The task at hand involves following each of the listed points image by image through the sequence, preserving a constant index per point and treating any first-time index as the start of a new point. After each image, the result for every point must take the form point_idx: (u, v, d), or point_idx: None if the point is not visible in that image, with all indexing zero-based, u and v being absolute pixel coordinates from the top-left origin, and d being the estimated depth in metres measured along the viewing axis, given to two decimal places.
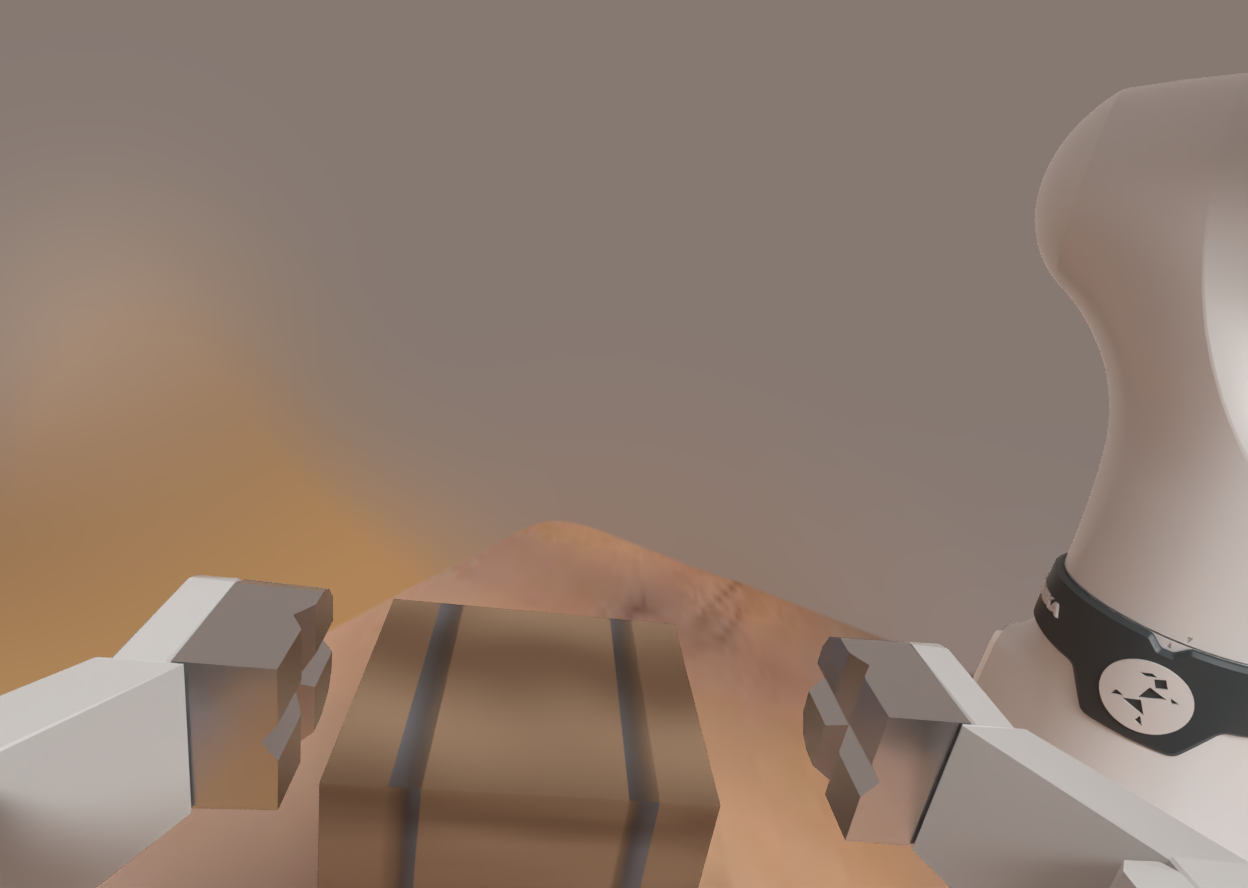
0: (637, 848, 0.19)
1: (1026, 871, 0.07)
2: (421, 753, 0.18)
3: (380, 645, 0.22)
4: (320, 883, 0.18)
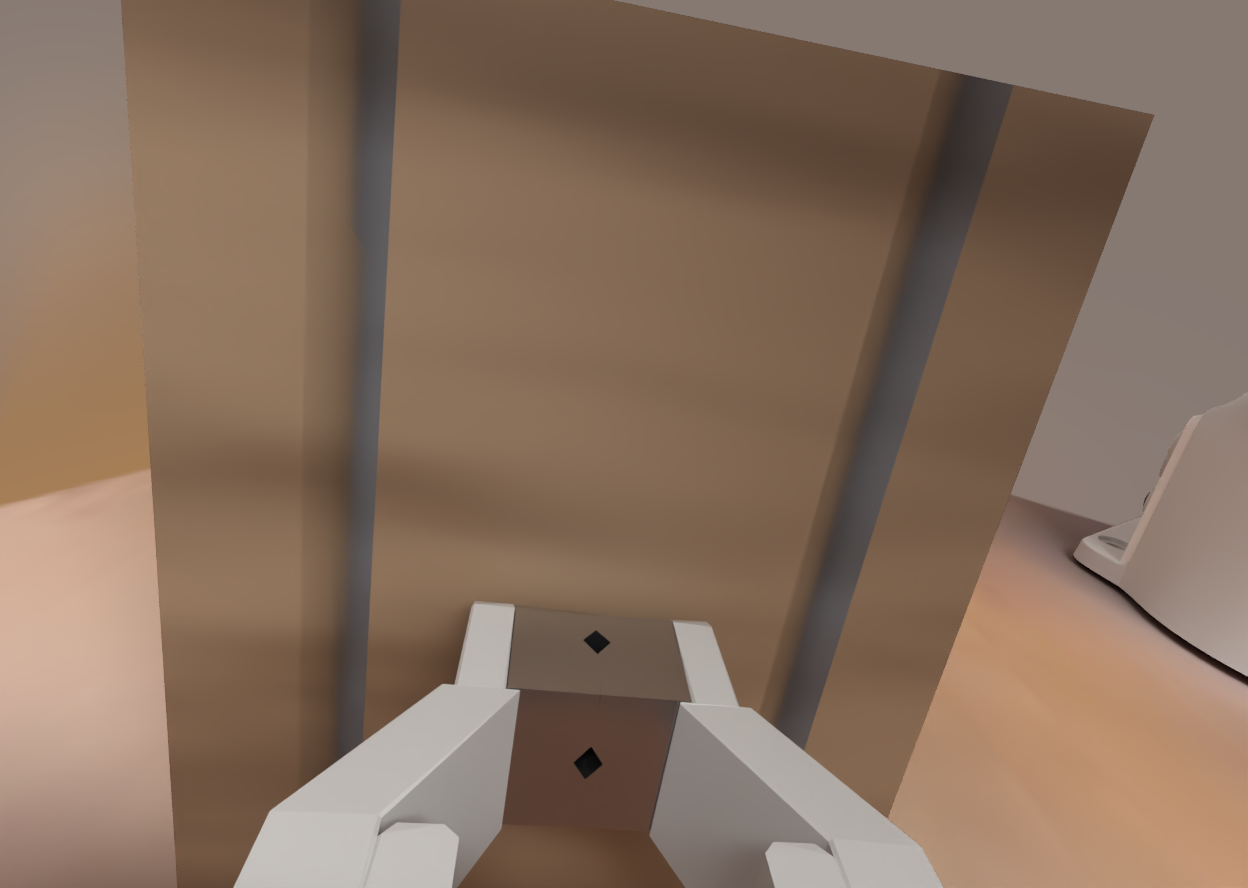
0: (934, 245, 0.08)
1: (728, 857, 0.07)
2: None
3: None
4: (148, 289, 0.07)
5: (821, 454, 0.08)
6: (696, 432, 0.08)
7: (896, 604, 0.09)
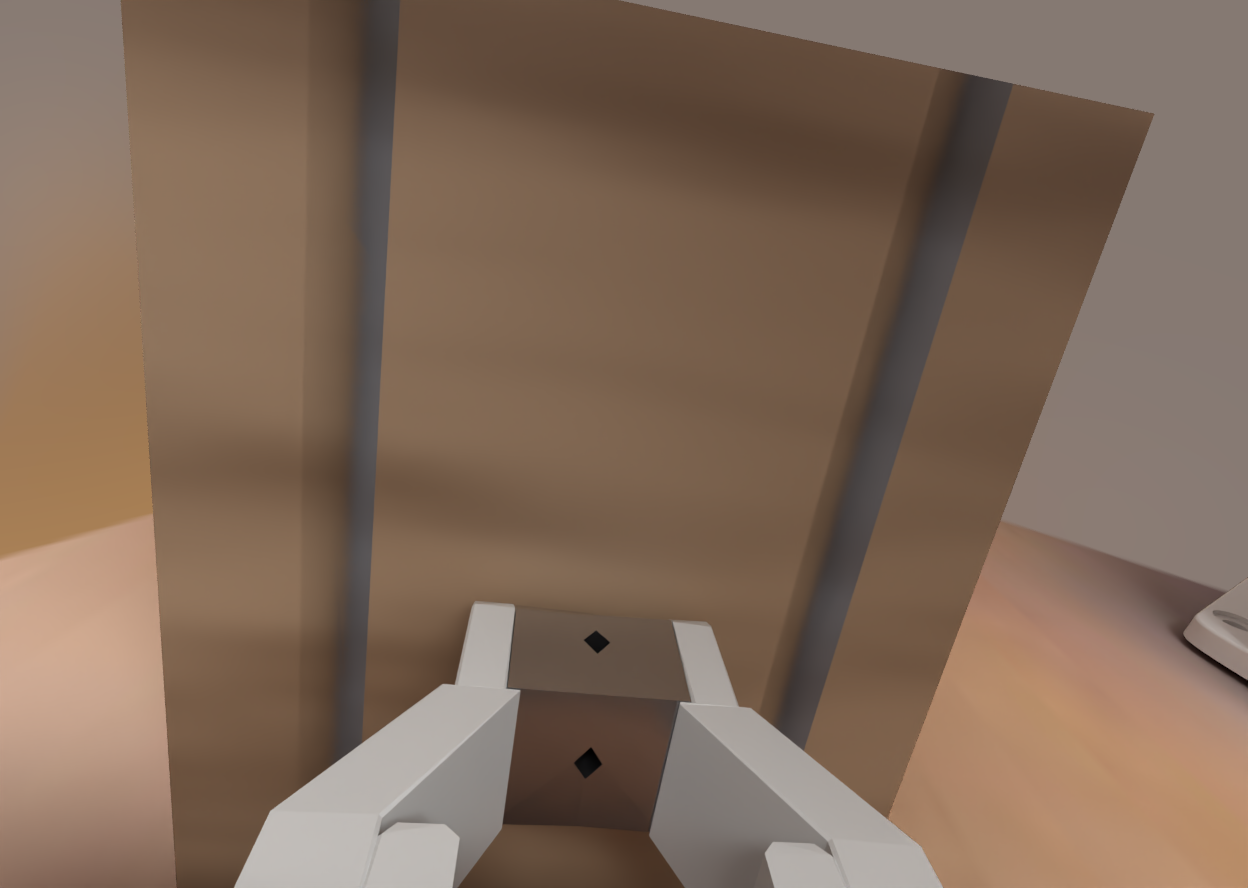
0: (934, 244, 0.08)
1: (728, 857, 0.07)
2: None
3: None
4: (147, 287, 0.07)
5: (820, 453, 0.08)
6: (695, 431, 0.08)
7: (896, 604, 0.09)
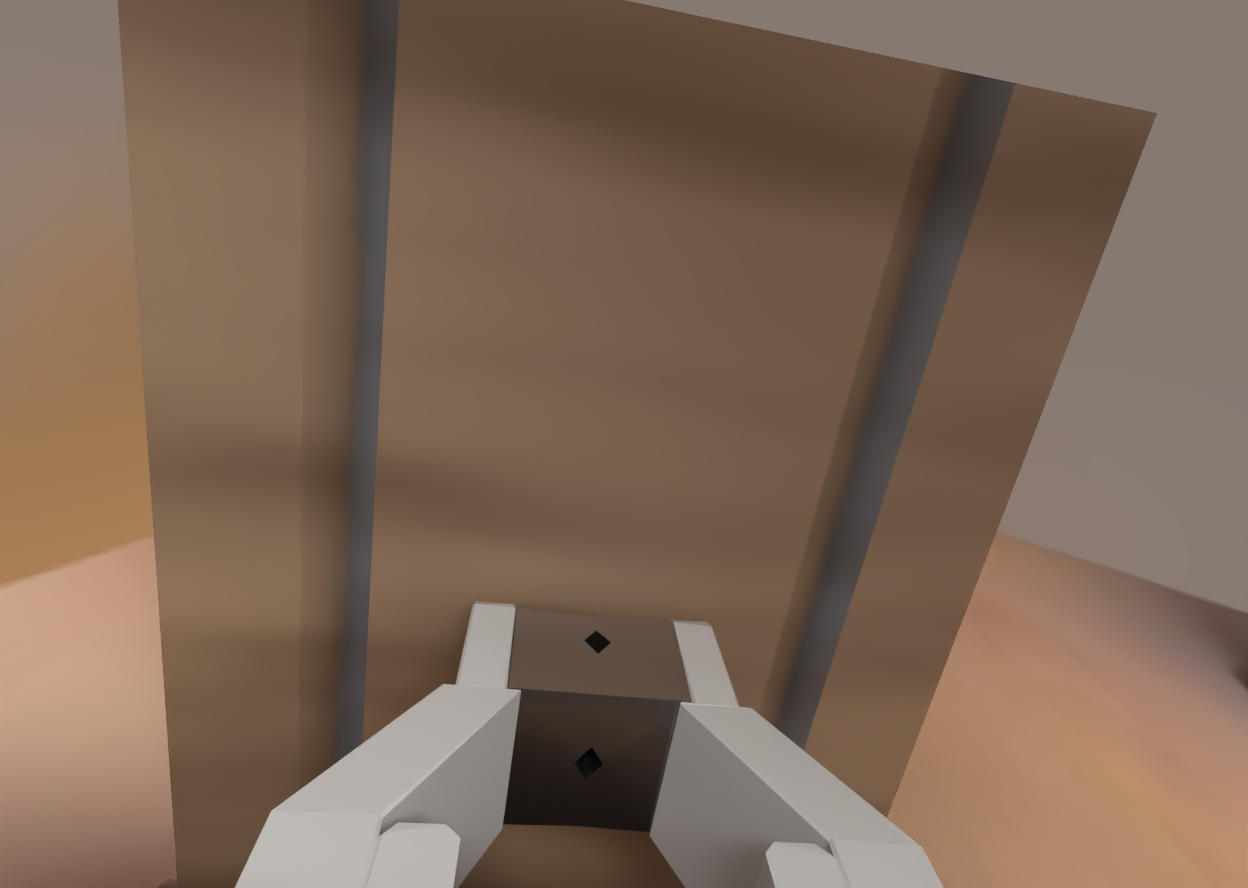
0: (935, 245, 0.08)
1: (728, 857, 0.07)
2: None
3: None
4: (146, 288, 0.07)
5: (822, 454, 0.08)
6: (696, 432, 0.08)
7: (895, 603, 0.09)
